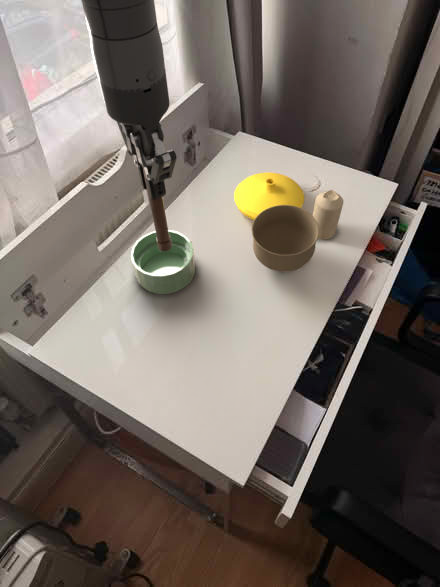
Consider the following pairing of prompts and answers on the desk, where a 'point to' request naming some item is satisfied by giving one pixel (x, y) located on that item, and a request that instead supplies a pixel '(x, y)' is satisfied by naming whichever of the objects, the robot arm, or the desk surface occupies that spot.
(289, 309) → the desk surface
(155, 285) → the mixing bowl
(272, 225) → the bowl
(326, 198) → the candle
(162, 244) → the stirring stick
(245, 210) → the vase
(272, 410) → the desk surface
